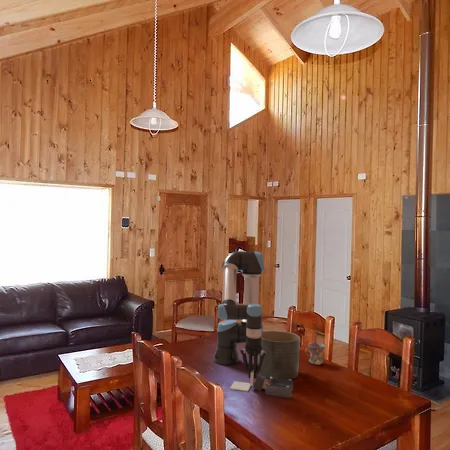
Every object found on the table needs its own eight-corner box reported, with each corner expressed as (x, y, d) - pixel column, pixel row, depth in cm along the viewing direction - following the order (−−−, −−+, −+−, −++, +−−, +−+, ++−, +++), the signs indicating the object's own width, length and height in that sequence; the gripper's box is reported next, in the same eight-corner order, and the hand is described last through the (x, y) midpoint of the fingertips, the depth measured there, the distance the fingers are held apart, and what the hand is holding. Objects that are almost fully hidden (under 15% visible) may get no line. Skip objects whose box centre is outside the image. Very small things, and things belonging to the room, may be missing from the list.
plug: (252, 387, 191) (256, 376, 190) (254, 384, 195) (258, 373, 194) (266, 393, 189) (270, 382, 189) (267, 390, 193) (271, 379, 193)
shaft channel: (265, 394, 186) (265, 383, 186) (268, 386, 196) (269, 376, 196) (290, 398, 183) (291, 387, 183) (293, 389, 193) (293, 379, 193)
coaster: (229, 389, 191) (229, 388, 191) (234, 382, 200) (234, 381, 200) (248, 391, 189) (248, 390, 189) (251, 384, 198) (251, 383, 198)
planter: (303, 370, 220) (304, 334, 220) (292, 384, 200) (293, 344, 200) (265, 363, 229) (266, 329, 229) (251, 376, 209) (252, 338, 209)
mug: (318, 359, 238) (319, 342, 238) (327, 365, 229) (327, 346, 230) (301, 361, 234) (301, 343, 235) (309, 366, 226) (309, 348, 226)
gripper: (239, 337, 191) (237, 385, 191) (265, 339, 188) (264, 389, 187) (242, 333, 198) (241, 380, 198) (268, 336, 195) (266, 383, 194)
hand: (252, 384), depth 193 cm, fingers closed
